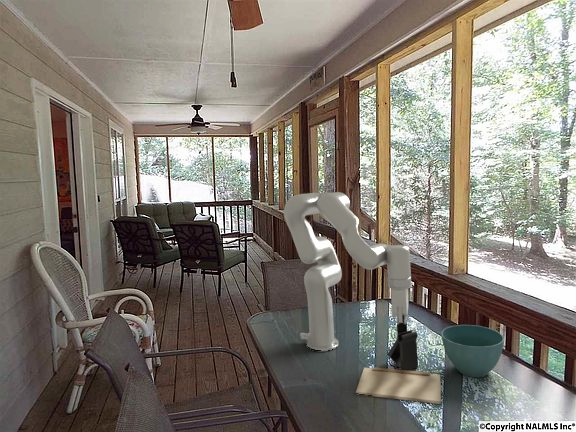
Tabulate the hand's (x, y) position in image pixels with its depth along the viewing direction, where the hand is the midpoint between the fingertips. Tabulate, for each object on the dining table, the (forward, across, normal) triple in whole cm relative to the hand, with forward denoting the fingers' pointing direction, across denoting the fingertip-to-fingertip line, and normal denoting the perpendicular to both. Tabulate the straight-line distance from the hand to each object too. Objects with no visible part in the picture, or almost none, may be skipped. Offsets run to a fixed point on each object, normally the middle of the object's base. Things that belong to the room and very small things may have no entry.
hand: (402, 335), depth 138 cm
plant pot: (+11, +1, +21) cm, 24 cm away
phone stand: (+9, 0, 0) cm, 9 cm away
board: (+11, +14, -1) cm, 18 cm away
